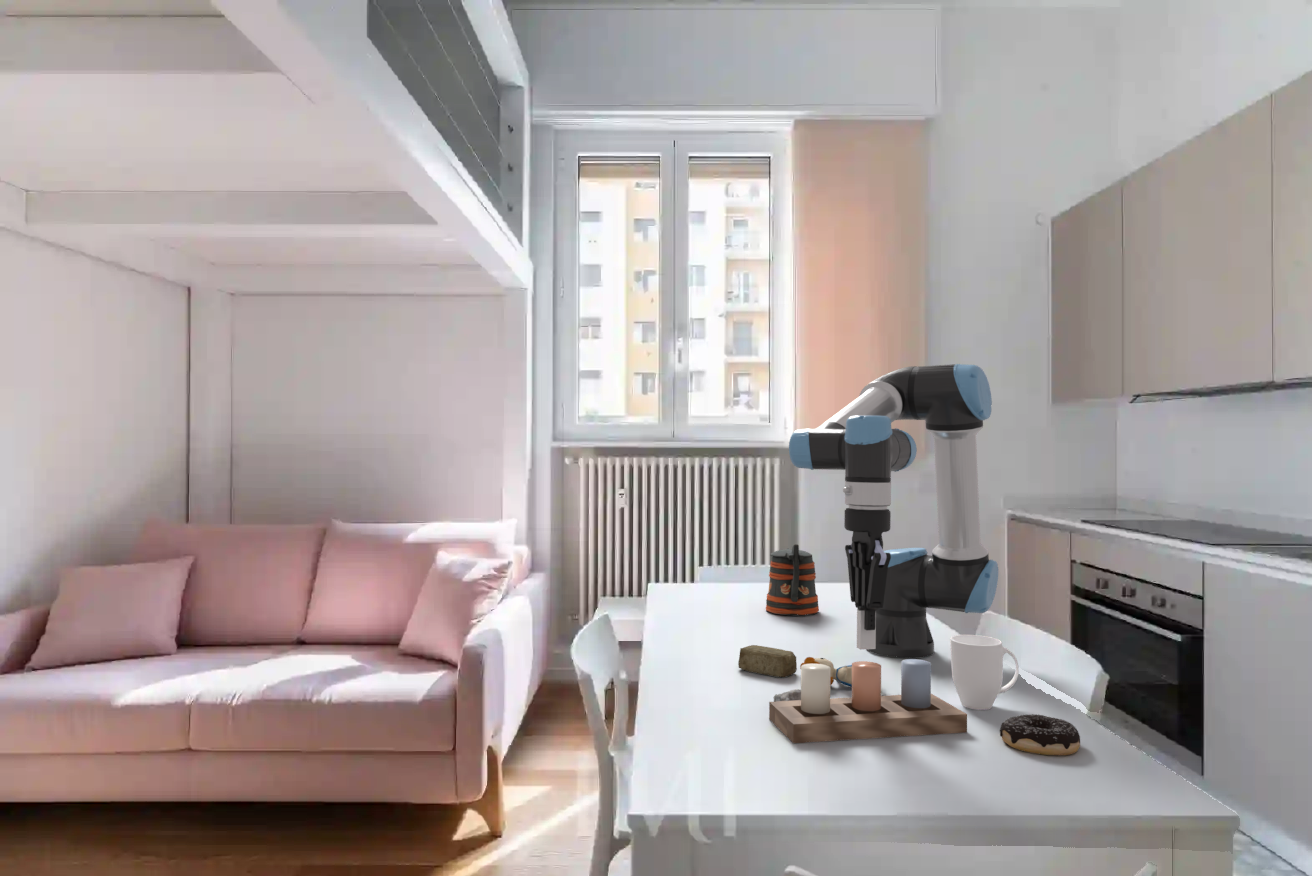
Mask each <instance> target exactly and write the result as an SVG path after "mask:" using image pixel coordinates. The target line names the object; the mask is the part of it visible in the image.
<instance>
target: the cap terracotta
mask: <svg viewBox="0 0 1312 876" xmlns="http://www.w3.org/2000/svg"><path fill="white" fill-rule="evenodd" d="M851 665H852V687H851V697H852V707H853V708H855V709H858V710H862V711H877V710H880V709H881V696H882V664H880V663H877V662H875V661H874V662H873V661H864V660H863V661H858V660H857V661H853V662H851Z"/></svg>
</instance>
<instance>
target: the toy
mask: <svg viewBox="0 0 1312 876" xmlns="http://www.w3.org/2000/svg"><path fill="white" fill-rule="evenodd" d="M804 664H823V665H827V666H829V667H830V687H831V686H832V685H833V684H834V682H835V681H836V682H837V683H839V684H842V685H845V686H847V687H850V688H852V664H849V665H844V666H840V667H838V668H837V667H836V668H834V664H833V662H832V661H831V660H829V659H827V658H824V657H818V658H817V657H816V658H814V657H812V656H808V657H806V658H805V659H804V660H803V662H802V663H800V666H799V667H800V670H801V666H802V665H804Z"/></svg>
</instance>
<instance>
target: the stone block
mask: <svg viewBox="0 0 1312 876" xmlns="http://www.w3.org/2000/svg"><path fill="white" fill-rule="evenodd" d="M738 656H739V657H738V663H737V665H738V669H740V670H743V671H746V672H749V673H755V674H759V675H763V676H769V677H775V678H787V677H790V676H793V675H794V674H796V672H797V669H798V668H797V663H798V662H797V656H796V655H795V653H794V652H793V651H791V650H786V649H781V648H775V647H769V646H763V645H758V644H757V645H755V644H751V645H748V646H744V647H740V649H739V655H738Z"/></svg>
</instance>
